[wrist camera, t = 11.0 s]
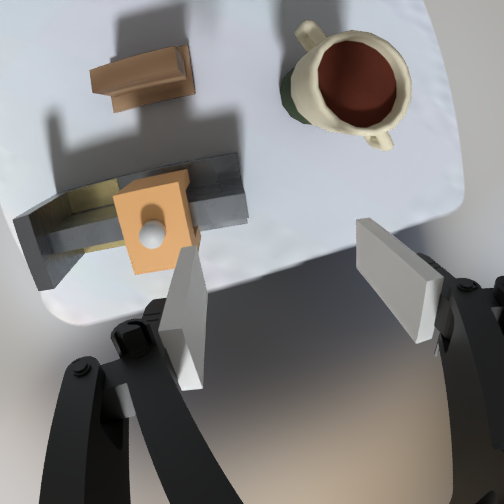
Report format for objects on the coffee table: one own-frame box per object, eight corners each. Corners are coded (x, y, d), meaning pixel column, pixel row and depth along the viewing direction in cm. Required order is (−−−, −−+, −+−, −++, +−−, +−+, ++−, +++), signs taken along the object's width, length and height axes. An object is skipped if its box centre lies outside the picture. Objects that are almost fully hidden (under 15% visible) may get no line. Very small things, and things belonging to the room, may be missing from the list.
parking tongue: (110, 67, 25) (82, 55, 19) (188, 47, 25) (178, 27, 19) (116, 112, 27) (89, 112, 21) (195, 93, 27) (187, 86, 21)
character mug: (365, 121, 30) (441, 129, 18) (312, 157, 31) (366, 183, 19) (306, 34, 26) (356, -10, 14) (248, 69, 27) (265, 36, 15)
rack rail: (56, 193, 30) (12, 219, 21) (236, 153, 30) (241, 165, 22) (74, 252, 32) (38, 291, 24) (247, 220, 33) (255, 256, 25)
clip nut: (133, 180, 27) (107, 200, 20) (187, 169, 27) (175, 185, 20) (150, 245, 29) (131, 281, 23) (200, 236, 29) (195, 272, 23)
